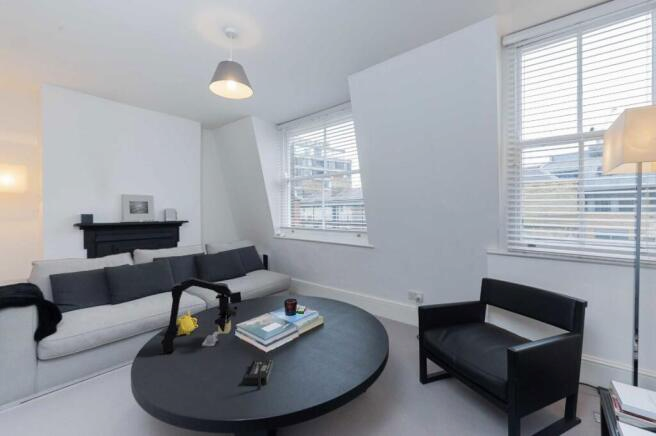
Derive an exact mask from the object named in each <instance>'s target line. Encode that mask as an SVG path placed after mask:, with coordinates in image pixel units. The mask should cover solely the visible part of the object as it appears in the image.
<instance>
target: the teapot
mask: <svg viewBox="0 0 656 436" xmlns="http://www.w3.org/2000/svg"><path fill="white" fill-rule="evenodd" d="M197 321H198V319H197V318H196V317H191V310H189V311H188V312H187V314H186V315H182V316H181V317H179V318H177V324H180V326H179V333H178V335H176V337H177V336H179V337H180V336H181V335H184V334H186V336H189V335H190V334H191V332H193V331H194V330H195V329H197V328H198V327H199V325H198V324H197Z"/></svg>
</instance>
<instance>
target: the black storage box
mask: <svg viewBox="0 0 656 436" xmlns="http://www.w3.org/2000/svg"><path fill="white" fill-rule="evenodd" d="M257 355H258V357H257V359H252V361H251V363H250V366H249V369H248V371H247V373H246V374H245V377H244V386H245V385H246V386H248V385H249V386H251V385H252V386H254V385H255V386H257V385H258V386H257V387H258V391H260V390H262V387H263V386H262V385H267V384H268V381H269V378H270V375H271V373H272V369H273V365H274V359H272V358H267V359H265V358H264V359H261V358H260V353H259V354H257Z"/></svg>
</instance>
